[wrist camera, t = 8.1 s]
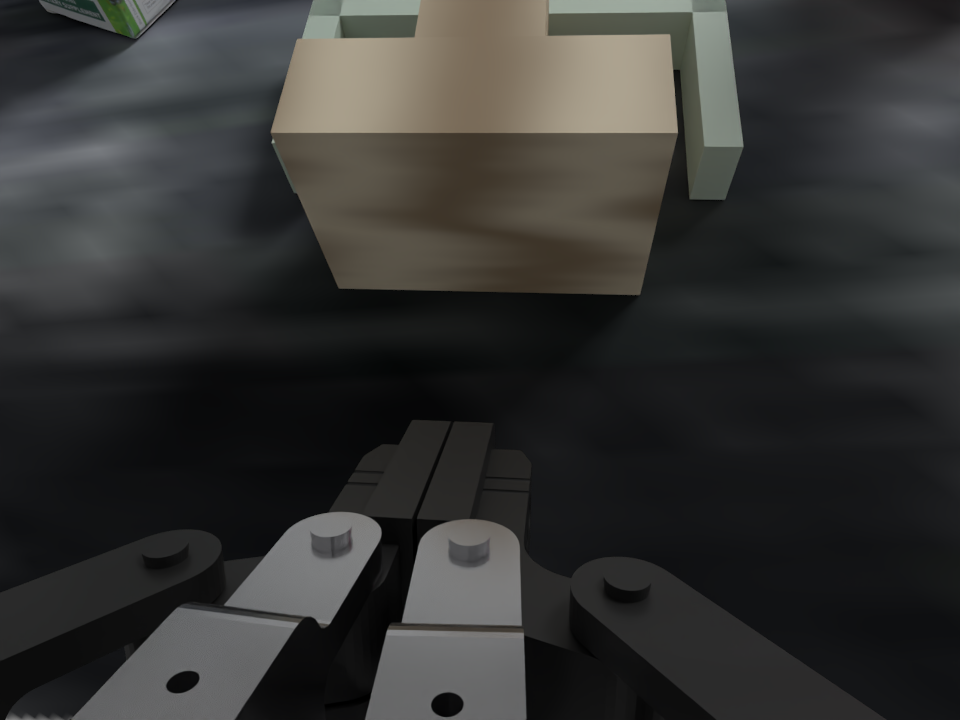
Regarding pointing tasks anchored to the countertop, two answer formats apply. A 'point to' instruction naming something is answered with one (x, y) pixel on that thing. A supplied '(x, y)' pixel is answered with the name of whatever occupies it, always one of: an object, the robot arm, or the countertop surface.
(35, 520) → the countertop surface
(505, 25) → the tee block
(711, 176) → the pocket
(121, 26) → the syrup box
